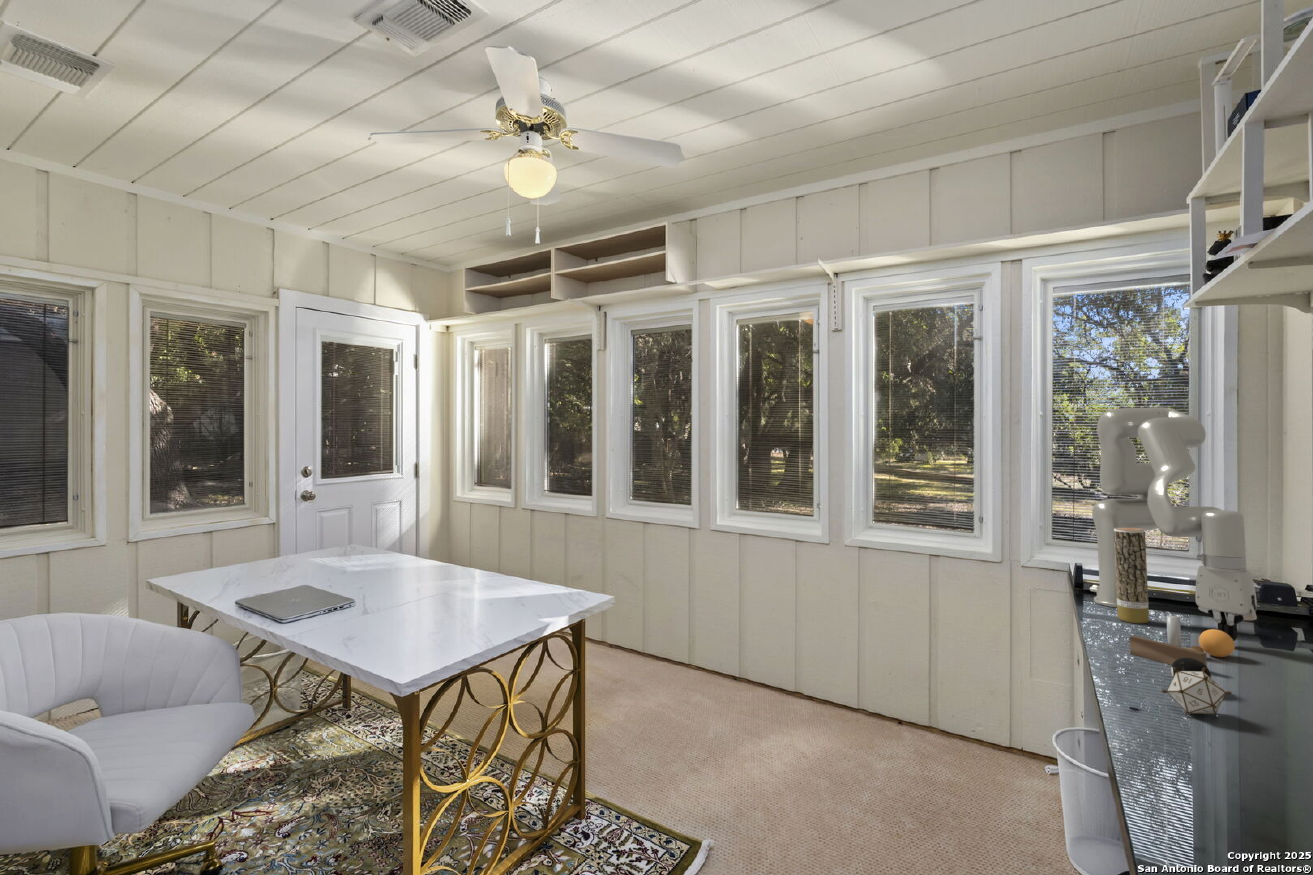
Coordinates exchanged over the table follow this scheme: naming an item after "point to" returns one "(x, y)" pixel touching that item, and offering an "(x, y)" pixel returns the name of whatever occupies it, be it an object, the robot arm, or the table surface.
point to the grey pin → (1173, 630)
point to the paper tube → (1131, 575)
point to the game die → (1196, 692)
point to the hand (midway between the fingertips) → (1227, 640)
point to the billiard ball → (1189, 666)
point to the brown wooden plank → (1162, 651)
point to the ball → (1216, 643)
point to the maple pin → (1196, 648)
